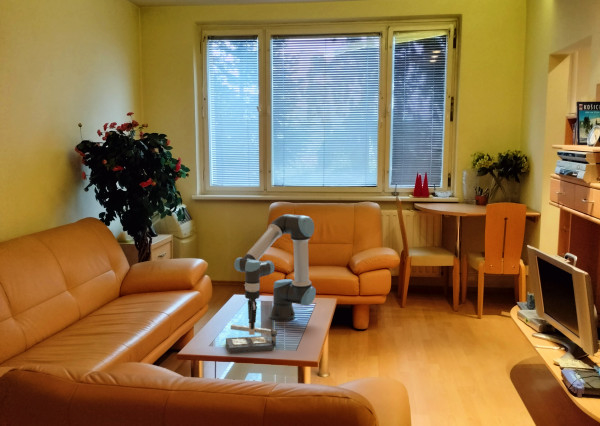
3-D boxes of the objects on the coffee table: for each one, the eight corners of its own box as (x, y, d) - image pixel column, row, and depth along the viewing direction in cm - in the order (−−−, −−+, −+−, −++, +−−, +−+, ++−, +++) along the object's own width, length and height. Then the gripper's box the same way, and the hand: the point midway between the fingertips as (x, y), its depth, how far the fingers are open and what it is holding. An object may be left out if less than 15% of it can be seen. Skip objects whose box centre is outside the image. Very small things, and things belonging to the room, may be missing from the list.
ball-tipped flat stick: (277, 334, 281) (277, 329, 280) (275, 336, 278) (275, 331, 277) (232, 328, 288) (232, 323, 288) (230, 330, 285) (230, 325, 285)
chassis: (272, 340, 287) (273, 330, 287) (278, 350, 274) (279, 339, 273) (225, 343, 281) (225, 333, 280) (229, 353, 267) (229, 343, 267)
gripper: (243, 287, 283) (242, 330, 286) (247, 293, 271) (246, 338, 274) (257, 286, 285) (256, 329, 288) (261, 293, 273) (261, 337, 276)
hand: (251, 334), depth 281 cm, fingers closed
